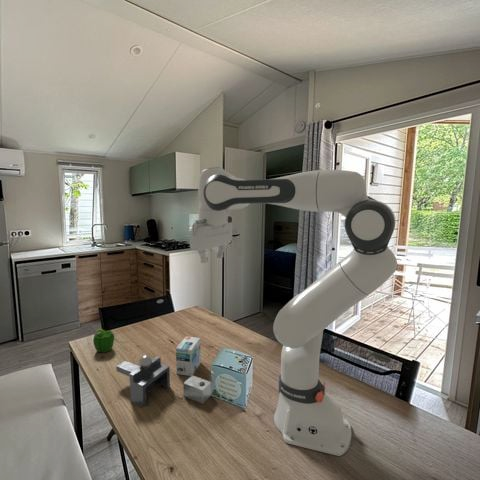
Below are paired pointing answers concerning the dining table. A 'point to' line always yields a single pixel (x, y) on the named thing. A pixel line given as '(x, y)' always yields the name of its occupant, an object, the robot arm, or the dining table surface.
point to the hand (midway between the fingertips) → (212, 260)
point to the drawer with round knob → (145, 377)
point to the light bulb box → (188, 356)
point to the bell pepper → (103, 340)
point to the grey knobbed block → (197, 389)
